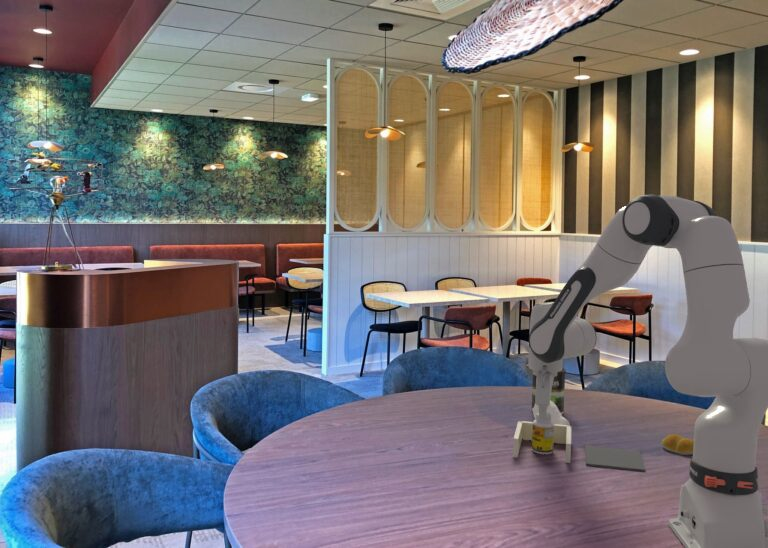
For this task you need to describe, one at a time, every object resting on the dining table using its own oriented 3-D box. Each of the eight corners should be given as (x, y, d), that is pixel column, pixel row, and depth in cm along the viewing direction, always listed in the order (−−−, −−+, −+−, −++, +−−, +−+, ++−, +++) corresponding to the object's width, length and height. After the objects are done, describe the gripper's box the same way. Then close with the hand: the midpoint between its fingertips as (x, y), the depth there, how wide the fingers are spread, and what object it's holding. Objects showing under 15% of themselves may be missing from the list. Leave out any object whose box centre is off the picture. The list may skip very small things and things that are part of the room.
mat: (645, 471, 165) (645, 469, 165) (586, 465, 169) (586, 463, 169) (639, 452, 179) (639, 450, 178) (585, 447, 182) (585, 445, 182)
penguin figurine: (546, 394, 203) (577, 408, 193) (543, 421, 204) (574, 436, 194) (531, 397, 199) (562, 411, 190) (528, 424, 201) (559, 439, 191)
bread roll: (690, 458, 175) (691, 443, 175) (657, 449, 182) (658, 435, 182) (704, 451, 181) (705, 437, 180) (672, 442, 187) (672, 428, 187)
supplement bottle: (528, 449, 180) (529, 412, 179) (546, 447, 182) (547, 410, 181) (538, 456, 175) (539, 418, 174) (557, 454, 177) (558, 416, 176)
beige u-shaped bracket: (570, 463, 170) (571, 444, 170) (513, 457, 174) (513, 438, 174) (570, 443, 185) (571, 425, 185) (517, 438, 189) (518, 420, 189)
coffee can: (563, 417, 210) (565, 373, 208) (530, 414, 213) (531, 370, 211) (564, 408, 219) (566, 366, 218) (532, 405, 222) (533, 363, 221)
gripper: (556, 372, 166) (554, 426, 167) (558, 355, 185) (556, 403, 187) (530, 370, 168) (528, 423, 169) (535, 353, 187) (533, 401, 189)
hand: (543, 413), depth 178 cm, fingers open, 8 cm apart
